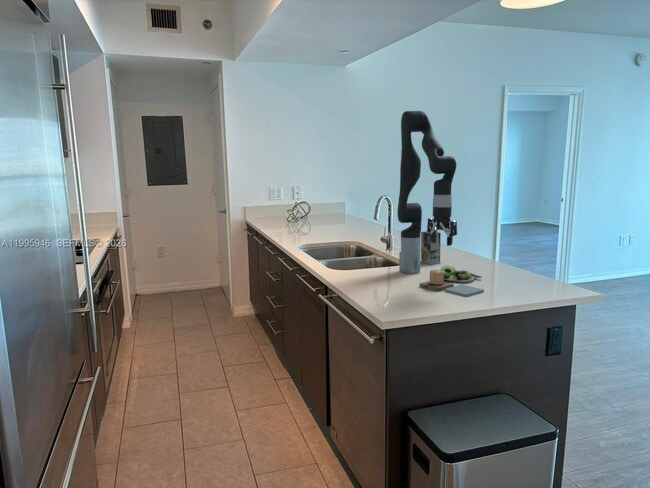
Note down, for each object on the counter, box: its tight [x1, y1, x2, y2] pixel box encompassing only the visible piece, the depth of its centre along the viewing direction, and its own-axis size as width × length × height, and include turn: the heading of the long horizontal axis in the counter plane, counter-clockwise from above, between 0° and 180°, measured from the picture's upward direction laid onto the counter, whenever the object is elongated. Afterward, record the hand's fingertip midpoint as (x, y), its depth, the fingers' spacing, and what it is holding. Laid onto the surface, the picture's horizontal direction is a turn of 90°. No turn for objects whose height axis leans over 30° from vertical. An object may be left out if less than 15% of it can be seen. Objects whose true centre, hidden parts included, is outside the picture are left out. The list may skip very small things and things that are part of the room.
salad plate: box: [440, 265, 483, 284], centre depth 215 cm, size 19×18×5 cm
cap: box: [429, 269, 444, 284], centre depth 201 cm, size 6×6×5 cm
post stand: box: [419, 280, 455, 292], centre depth 201 cm, size 10×10×6 cm
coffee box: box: [420, 230, 441, 265], centre depth 248 cm, size 9×6×16 cm
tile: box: [444, 283, 485, 298], centre depth 193 cm, size 11×11×1 cm
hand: (441, 244), depth 198 cm, fingers open, 8 cm apart
